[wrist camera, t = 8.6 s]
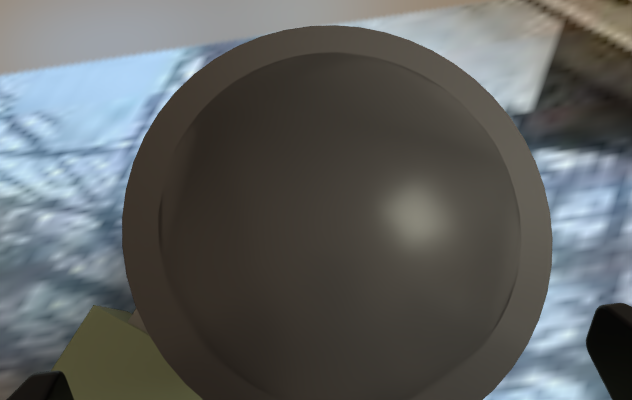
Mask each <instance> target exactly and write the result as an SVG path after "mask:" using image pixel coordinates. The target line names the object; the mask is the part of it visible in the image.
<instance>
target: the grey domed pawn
mask: <svg viewBox="0 0 632 400" xmlns="http://www.w3.org/2000/svg"><path fill="white" fill-rule="evenodd" d="M122 247H123V254H124V261H125V268H126V274H127V279H128V282H129V286H130V289H131V292H132V296H133V299H134V303H135V306H136V308H137V310H138V312H139V315H140V317H141V319H142V321H143V323H144V326H145V328H146V330H147V332H148V334H149V336H150V337H151V339H152V340H153V342H154V344H155V345H156V347H157V348H158V350H159V351H160V353H161V355H162V356H163V358H164V359H165V361H166V362H167V363H168V364H169V365H170V366H171V368H172V369H173V370H174V371H175V372H176V374H177V375H178V376H179V377H180V378H181V379H182V381H183V382H184V383H185V384H186V385H187V386H188V387H189V388H191V389H192V390H193V391H194V392H195V393H196V394H197V395H199V396H200V397H201V398H202V399H203V400H483V399H484V398H485V397H486V396H487V395H488V394H490V393H491V392H492V391H493V390H494V389H495V388H496V387H497V385H498V384H499V383H500V382H501V381H502V380H503V378H504V377H505V376H506V375H507V374H508V373H509V371H510V370H511V369H512V368H513V366H514V365H515V363H516V362H517V360H518V358H519V357H520V355H521V354H522V352H523V351H524V349H525V348H526V346H527V344H528V342H529V340H530V338H531V336H532V334H533V331H534V329H535V327H536V325H537V323H538V321H539V318H540V315H541V311H542V308H543V305H544V302H545V298H546V295H547V291H548V285H549V279H550V272H551V266H552V229H551V219H550V211H549V206H548V202H547V197H546V193H545V188H544V185H543V182H542V179H541V176H540V173H539V171H538V168H537V165H536V162H535V160H534V158H533V156H532V154H531V152H530V150H529V148H528V146H527V144H526V142H525V140H524V138H523V137H522V135H521V133H520V132H519V130H518V129H517V127H516V126H515V124H514V123H513V121H512V120H511V118H510V117H509V115H508V114H507V113H506V112H505V111H504V109H503V108H502V107H501V106H500V105H499V103H498V102H497V101H496V100H495V99H494V97H493V96H492V95H491V94H490V93H489V92H487V91H486V90H485V89H484V88H483V87H482V86H481V85H480V84H479V83H478V82H477V81H476V80H475V79H474V78H472V77H471V76H470V75H468V74H467V73H466V72H464V71H463V70H462V69H461V68H459V67H458V66H457V65H455V64H454V63H452V62H450V61H449V60H447V59H445V58H444V57H442V56H440V55H439V54H437V53H435V52H434V51H432V50H430V49H427V48H425V47H423V46H421V45H419V44H416V43H414V42H412V41H410V40H407V39H404V38H401V37H398V36H394V35H391V34H388V33H385V32H380V31H375V30H370V29H365V28H360V27H348V26H336V25H334V26H309V27H302V28H295V29H289V30H283V31H280V32H276V33H272V34H269V35H265V36H262V37H259V38H256V39H254V40H252V41H249V42H247V43H244V44H242V45H239V46H237V47H235V48H233V49H232V50H230V51H228V52H226V53H225V54H223V55H221V56H219V57H217V58H216V59H214V60H213V61H211V62H210V63H209V64H207V65H206V66H205V67H203V68H202V69H201V70H199V71H198V72H197V73H195V74H194V75H193V76H192V77H191V78H190V79H189V80H188V81H187V82H186V83H185V84H184V85H182V86H181V87H180V88H179V89H178V90H177V91H176V92H175V93H174V95H173V96H172V97H171V98H170V100H169V101H168V102H167V103H166V105H165V106H164V107H163V108H162V110H161V111H160V112H159V113H158V115H157V117H156V118H155V120H154V122H153V123H152V125H151V127H150V128H149V130H148V132H147V133H146V135H145V137H144V139H143V141H142V144H141V146H140V148H139V151H138V153H137V155H136V158H135V160H134V162H133V166H132V169H131V173H130V177H129V180H128V184H127V188H126V193H125V201H124V208H123V216H122Z"/></svg>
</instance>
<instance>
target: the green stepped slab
mask: <svg viewBox="0 0 632 400" xmlns="http://www.w3.org/2000/svg"><path fill="white" fill-rule="evenodd" d="M56 370H58V371H62V372H63V373H64V374H65V376H66V379H67V381H68V384H69V387H70V390H71V392H72V395H73V398H74V400H203V399H202V398H201V397H200V396H199V395H197V394H196V393H195V392H194V391H193V390H192V389H191V388H189V387H188V386H187V385H186V384H185V383H184V382H183V381H182V379H181V378H180V377H179V376H178V375H177V374H176V372H175V371H174V370H173V369H172V368H171V366H170V365H169V364H168V363H167V362H166V361H165V359H164V358H163V356H162V355H161V353H160V351H159V350H158V348H157V347H156V345H155V344H154V342H153V340H152V339H151V337H150V336H149V334H148V332H147V330H146V328H145V326H144V323H143V321H142V319H141V317H140V315H139V312H138V310H137V308H136V309H135V311H134V312H133V314H131V313H129V312H127V311H122V310H117V309H112V308H106V307H101V306H96V305H93V307H92V308H91V310H90V312H89V313H88V315H87V316H86V318H85V319H84V321H83V322H82V324H81V325H80V327H79V328H78V330H77V332H76V333H75V335H74V336H73V338H72V339H71V341H70V342H69V344H68V345H67V347H66V349H65V350H64V352H63V353H62V355H61V356H60V358H59V359H58V361H57V362H56V364H55V365H54V367H53V369H52V370H51V371H56Z"/></svg>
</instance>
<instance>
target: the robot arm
mask: <svg viewBox="0 0 632 400" xmlns="http://www.w3.org/2000/svg"><path fill="white" fill-rule="evenodd" d="M586 346H587V350H588V353H589V355H590V357H591V359H592V361H593V363H594V365H595V367H596V369H597V371H598V373H599V375H600V377H601V379H602V381H603V383H604V385H605V387H606V389H607V391H608V392H609V394H610V396H611V398H612V400H632V307H631V306H629V305H627V304H624V303H614V304H605V305H601V306H599V307H598V308H597V309H596V311H595V314H594V317H593V320H592V323H591V326H590V329H589V331H588V334H587V338H586ZM7 400H74V398H73V395H72V392H71V390H70V387H69V384H68V381H67V379H66V376H65V374H64V373H63V372H62V371H58V370H56V371H48V372H40V373H35V374H33V375H32V376H30V377H29V378H28V379H27V380H26V381H25V382H24V383H23V384H22V385H21V386H20V387H19V388H18V389H17V390H16V391H15V392H14V393H13V394H12V395H11V396H10V397H9V398H8V399H7Z"/></svg>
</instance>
